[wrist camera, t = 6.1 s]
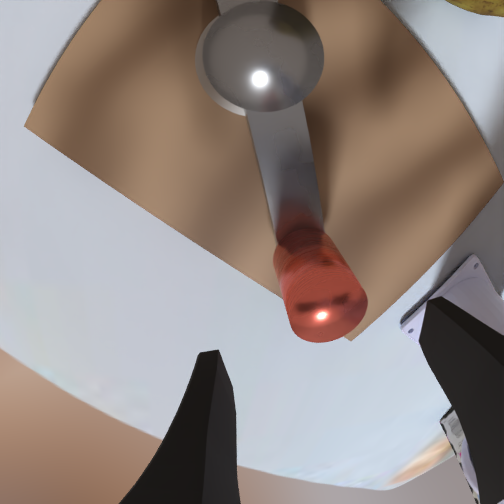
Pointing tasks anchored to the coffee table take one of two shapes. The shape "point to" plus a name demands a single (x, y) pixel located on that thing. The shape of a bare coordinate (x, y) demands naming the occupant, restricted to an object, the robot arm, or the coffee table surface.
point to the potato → (481, 6)
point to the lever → (285, 155)
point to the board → (241, 149)
